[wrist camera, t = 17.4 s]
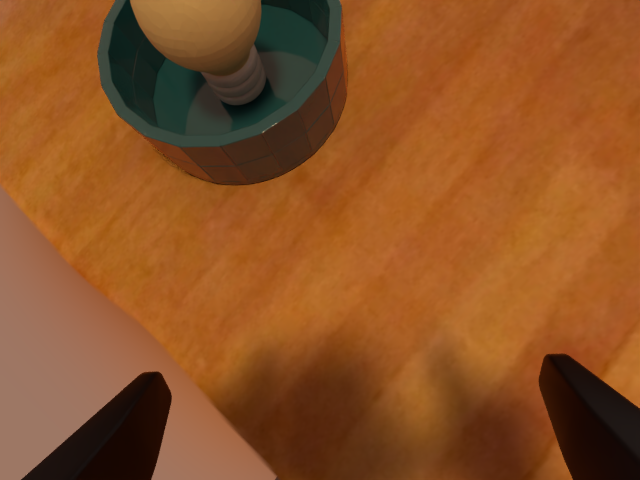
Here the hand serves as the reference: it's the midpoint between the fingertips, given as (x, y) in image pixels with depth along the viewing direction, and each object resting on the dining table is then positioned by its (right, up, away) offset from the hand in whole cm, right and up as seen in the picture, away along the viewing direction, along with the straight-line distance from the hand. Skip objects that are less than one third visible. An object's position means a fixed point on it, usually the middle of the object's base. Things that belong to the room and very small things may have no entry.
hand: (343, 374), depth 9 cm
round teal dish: (-6, +14, +18) cm, 24 cm away
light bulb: (-6, +14, +18) cm, 23 cm away
